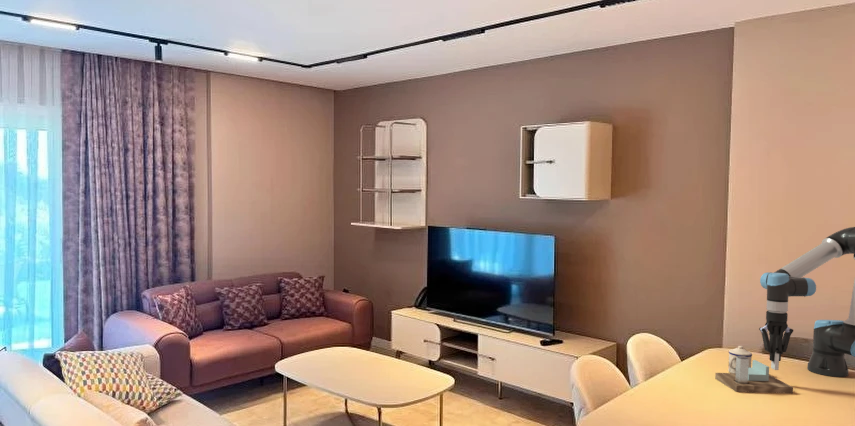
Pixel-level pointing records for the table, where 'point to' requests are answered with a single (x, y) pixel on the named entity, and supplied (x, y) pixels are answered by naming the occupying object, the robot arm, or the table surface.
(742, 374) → the pin
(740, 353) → the teacup with lid
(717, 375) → the base
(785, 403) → the table surface
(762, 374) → the cover
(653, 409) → the table surface
